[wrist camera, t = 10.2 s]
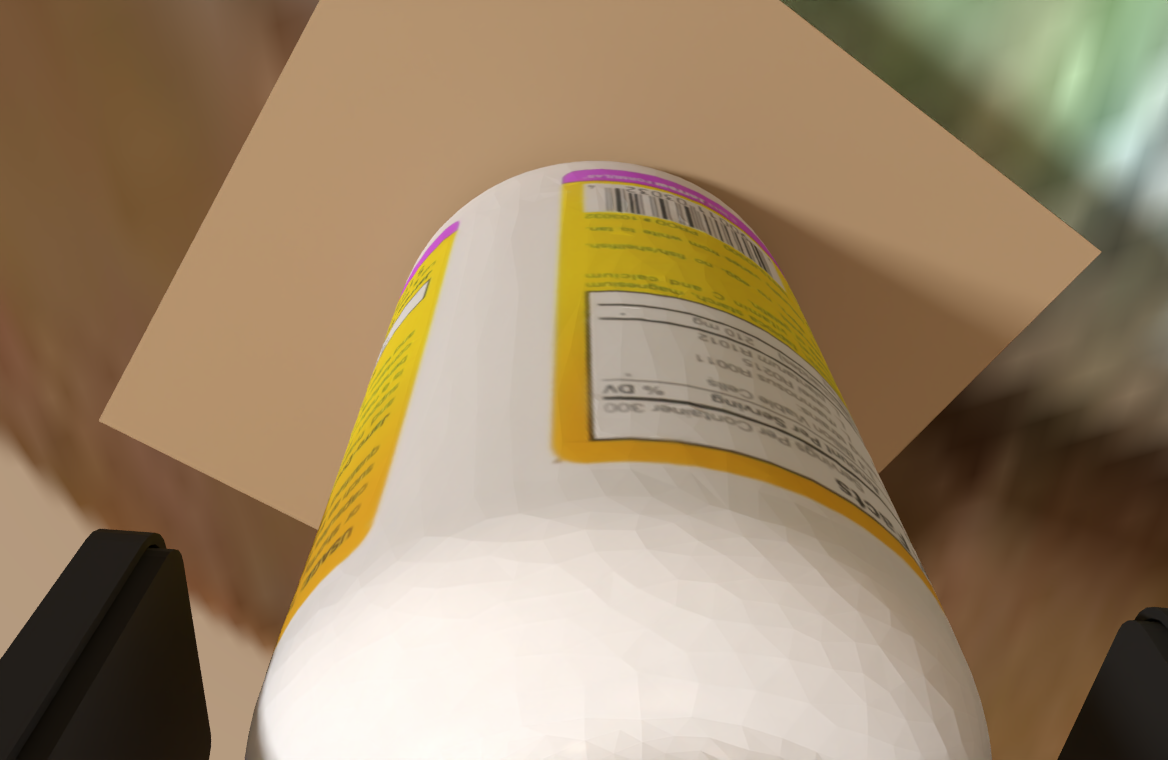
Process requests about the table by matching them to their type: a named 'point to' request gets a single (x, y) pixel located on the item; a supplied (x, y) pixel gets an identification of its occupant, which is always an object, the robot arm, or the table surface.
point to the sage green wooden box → (562, 135)
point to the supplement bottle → (609, 513)
